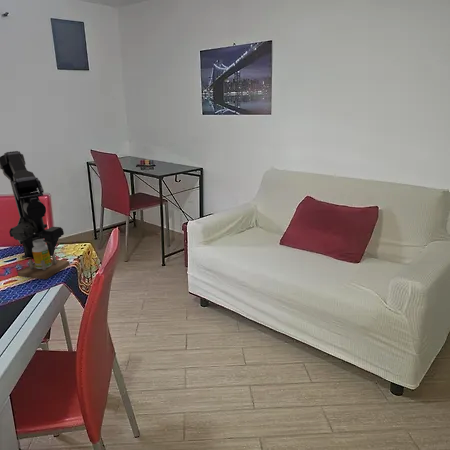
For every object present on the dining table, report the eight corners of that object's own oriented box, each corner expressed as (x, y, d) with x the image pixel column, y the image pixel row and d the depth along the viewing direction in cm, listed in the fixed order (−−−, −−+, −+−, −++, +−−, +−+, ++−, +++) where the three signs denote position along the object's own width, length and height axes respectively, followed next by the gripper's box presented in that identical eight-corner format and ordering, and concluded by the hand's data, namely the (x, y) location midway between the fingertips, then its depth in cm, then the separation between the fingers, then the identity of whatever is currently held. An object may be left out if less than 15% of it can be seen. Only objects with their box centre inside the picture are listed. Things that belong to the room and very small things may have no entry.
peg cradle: (18, 276, 140) (15, 262, 139) (43, 262, 151) (40, 249, 149) (46, 279, 136) (43, 265, 135) (69, 264, 147) (67, 252, 145)
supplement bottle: (45, 269, 140) (40, 243, 137) (32, 269, 141) (26, 243, 138) (55, 263, 145) (50, 238, 142) (42, 263, 146) (37, 237, 143)
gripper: (-9, 218, 133) (2, 261, 138) (36, 221, 127) (46, 266, 131) (17, 208, 142) (27, 249, 147) (60, 210, 136) (68, 253, 141)
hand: (41, 254), depth 142 cm, fingers open, 9 cm apart
